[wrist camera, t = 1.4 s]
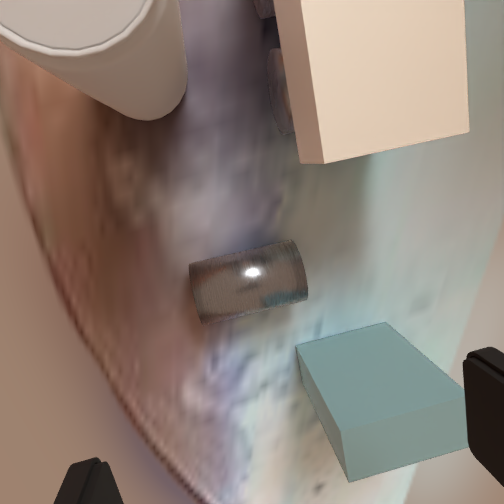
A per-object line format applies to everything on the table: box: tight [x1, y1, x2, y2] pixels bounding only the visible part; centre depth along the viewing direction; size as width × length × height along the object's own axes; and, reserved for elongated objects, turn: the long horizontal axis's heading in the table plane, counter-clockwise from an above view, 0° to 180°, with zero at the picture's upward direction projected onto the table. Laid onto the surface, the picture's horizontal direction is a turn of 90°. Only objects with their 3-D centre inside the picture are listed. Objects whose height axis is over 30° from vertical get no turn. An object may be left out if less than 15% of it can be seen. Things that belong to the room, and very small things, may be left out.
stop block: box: [296, 322, 469, 483], centre depth 21 cm, size 6×3×8 cm, turn 102°
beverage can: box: [0, 0, 188, 121], centre depth 13 cm, size 5×5×12 cm
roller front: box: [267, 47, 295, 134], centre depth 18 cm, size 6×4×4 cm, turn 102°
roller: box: [189, 240, 308, 326], centre depth 21 cm, size 6×4×4 cm, turn 102°
